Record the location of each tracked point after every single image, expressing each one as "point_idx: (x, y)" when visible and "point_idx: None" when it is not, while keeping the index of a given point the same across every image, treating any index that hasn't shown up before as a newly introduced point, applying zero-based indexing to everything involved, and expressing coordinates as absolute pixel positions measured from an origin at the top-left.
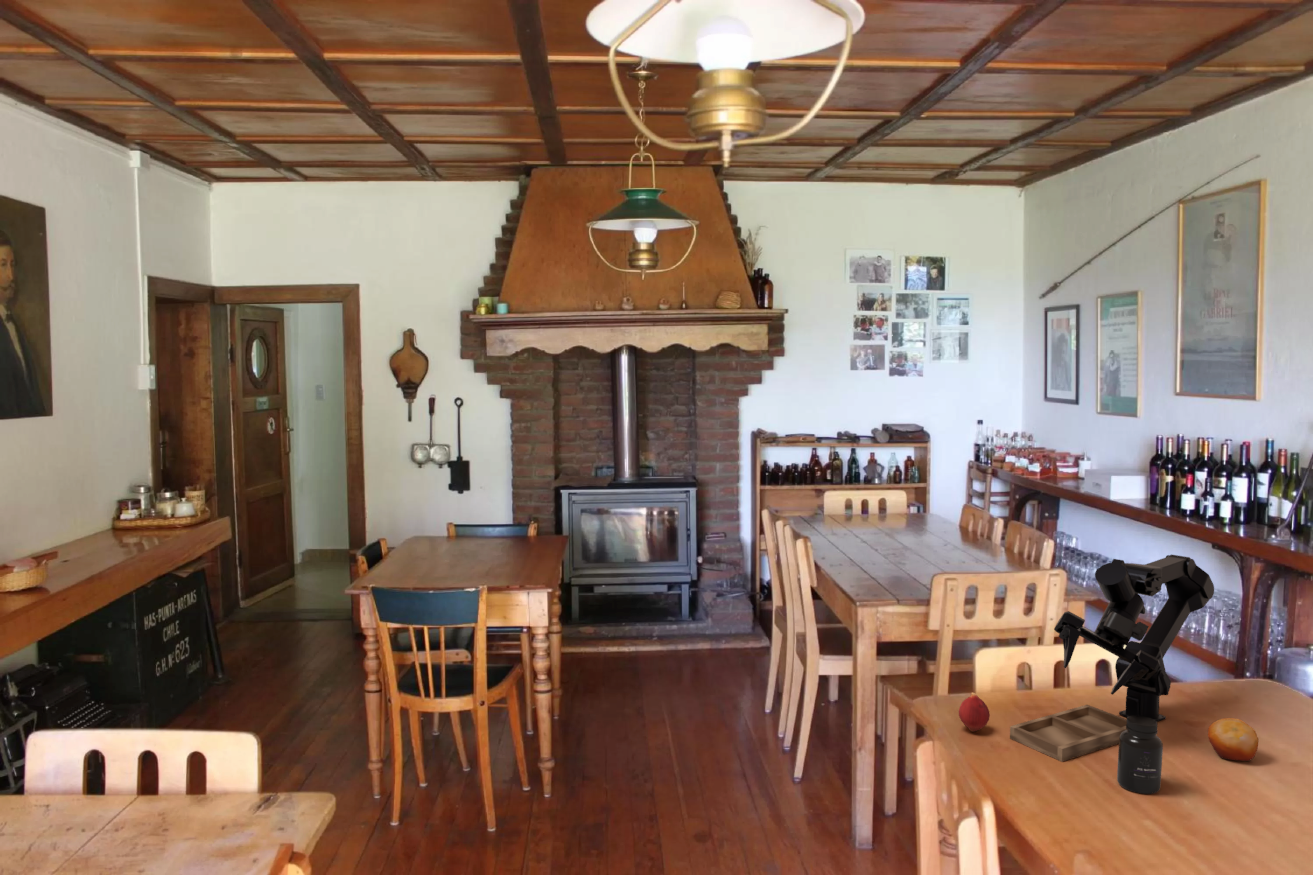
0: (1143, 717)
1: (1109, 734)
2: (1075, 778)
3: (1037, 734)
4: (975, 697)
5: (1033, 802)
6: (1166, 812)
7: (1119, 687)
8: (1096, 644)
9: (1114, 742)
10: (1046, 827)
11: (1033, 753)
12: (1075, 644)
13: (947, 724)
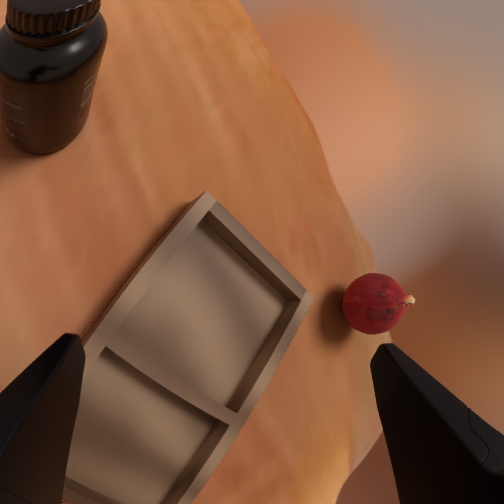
0: (36, 4)
1: None
2: (169, 123)
3: (251, 326)
4: (403, 295)
5: (238, 48)
6: None
7: (36, 361)
8: None
9: None
10: (223, 4)
11: (248, 231)
12: (475, 451)
13: None
